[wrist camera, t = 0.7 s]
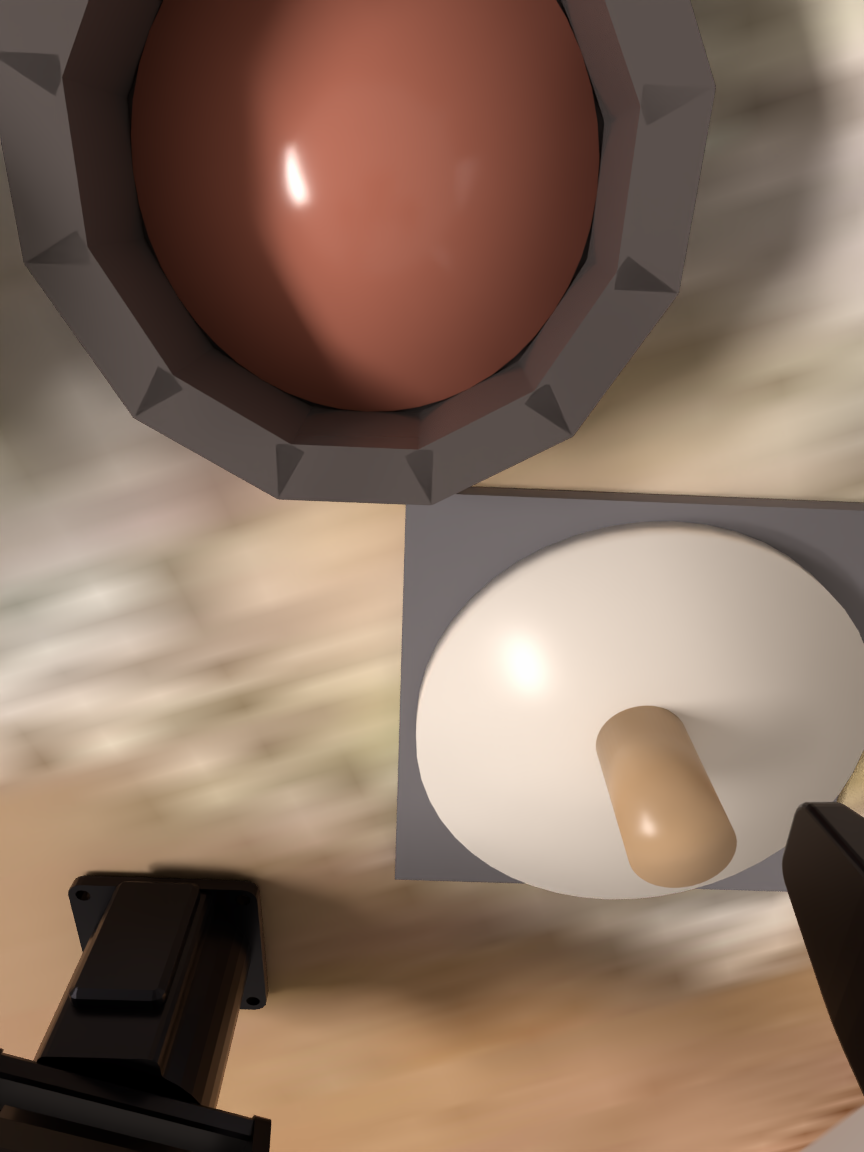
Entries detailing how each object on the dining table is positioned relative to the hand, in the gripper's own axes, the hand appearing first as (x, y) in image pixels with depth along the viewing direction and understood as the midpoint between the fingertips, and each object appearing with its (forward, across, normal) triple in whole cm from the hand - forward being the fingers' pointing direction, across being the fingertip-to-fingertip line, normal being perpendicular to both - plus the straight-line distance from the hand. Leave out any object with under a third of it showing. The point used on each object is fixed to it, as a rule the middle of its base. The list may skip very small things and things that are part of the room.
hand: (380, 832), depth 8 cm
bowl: (+13, +1, -7) cm, 14 cm away
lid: (+12, -7, +8) cm, 16 cm away
